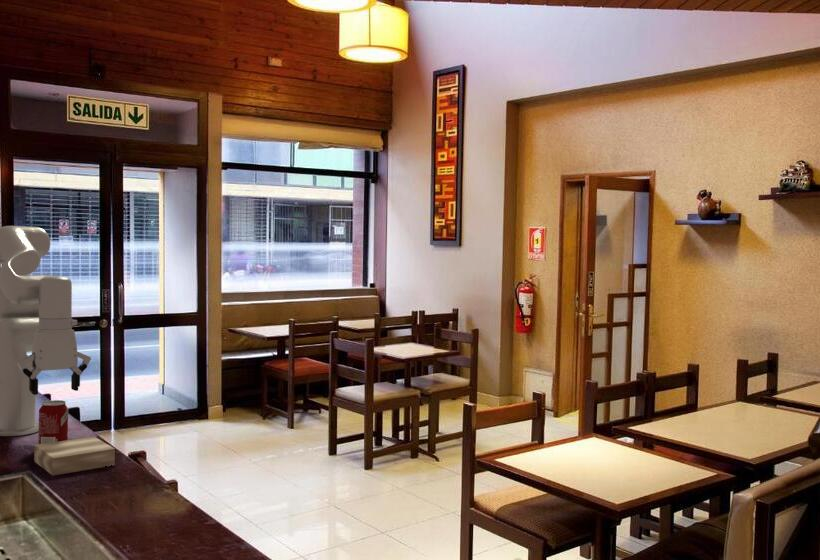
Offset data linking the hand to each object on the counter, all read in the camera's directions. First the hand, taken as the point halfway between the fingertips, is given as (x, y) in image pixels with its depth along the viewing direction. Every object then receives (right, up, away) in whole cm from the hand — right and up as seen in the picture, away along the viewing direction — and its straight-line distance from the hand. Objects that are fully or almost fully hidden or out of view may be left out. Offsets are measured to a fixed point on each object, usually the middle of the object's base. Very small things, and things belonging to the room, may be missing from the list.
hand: (55, 392), depth 188 cm
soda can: (-1, -15, +1) cm, 15 cm away
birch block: (+10, -16, -11) cm, 21 cm away
